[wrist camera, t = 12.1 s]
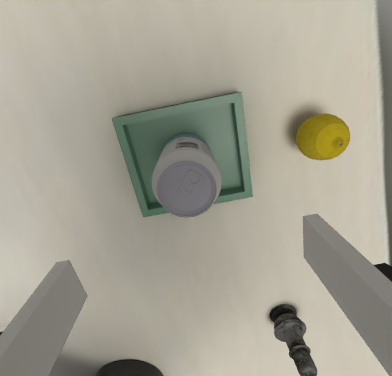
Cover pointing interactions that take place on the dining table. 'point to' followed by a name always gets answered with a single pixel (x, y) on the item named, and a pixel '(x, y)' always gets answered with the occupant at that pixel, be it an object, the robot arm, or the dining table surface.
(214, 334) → the dining table surface
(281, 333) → the salt shaker
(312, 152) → the fruit
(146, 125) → the tray
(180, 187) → the beverage can
